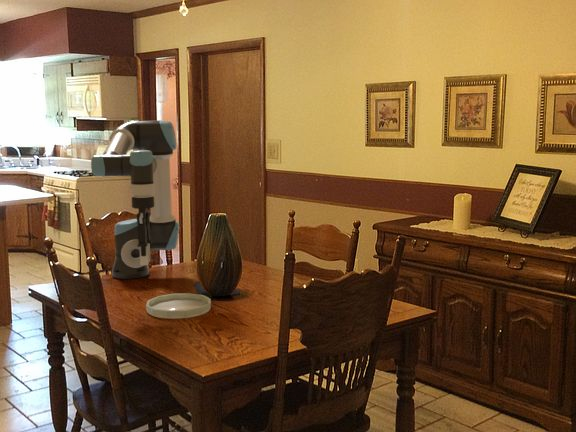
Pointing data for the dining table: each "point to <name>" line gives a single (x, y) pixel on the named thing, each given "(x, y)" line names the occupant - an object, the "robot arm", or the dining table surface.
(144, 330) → the dining table surface
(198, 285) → the dark slate chunk
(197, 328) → the dining table surface
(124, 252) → the donut
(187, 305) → the dish
